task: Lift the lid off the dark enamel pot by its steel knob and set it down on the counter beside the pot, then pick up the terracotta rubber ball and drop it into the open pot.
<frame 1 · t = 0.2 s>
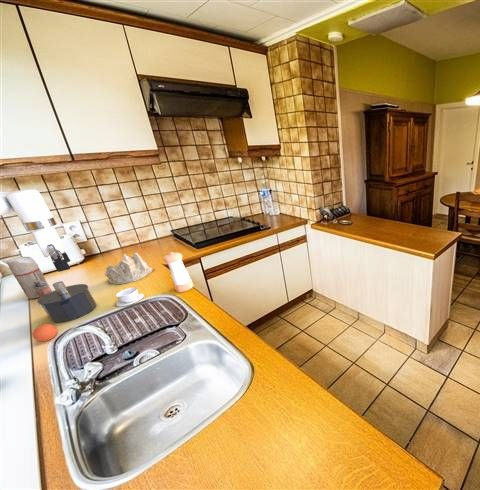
hand: (64, 266, 102), 24 cm above the worktop, tool pointing down, fingers open, 9 cm apart
pot: (75, 312, 115), on the worktop
lighter: (48, 299, 126), on the worktop
pot lid: (64, 294, 111), point 9 cm above the worktop, touching pot
salt shaker: (185, 288, 129), on the worktop
jagged rock: (132, 276, 143), on the worktop
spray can: (41, 295, 130), on the worktop
ball: (45, 332, 98), point 3 cm above the worktop
teacup: (130, 300, 121), on the worktop
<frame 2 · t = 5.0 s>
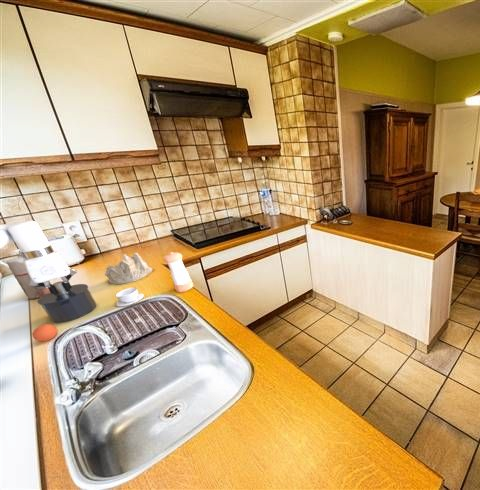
hand: (62, 291, 110), 11 cm above the worktop, tool pointing down, fingers closed on pot lid, 3 cm apart
pot lid: (64, 294, 111), point 10 cm above the worktop, touching gripper, pot
everything else where it was.
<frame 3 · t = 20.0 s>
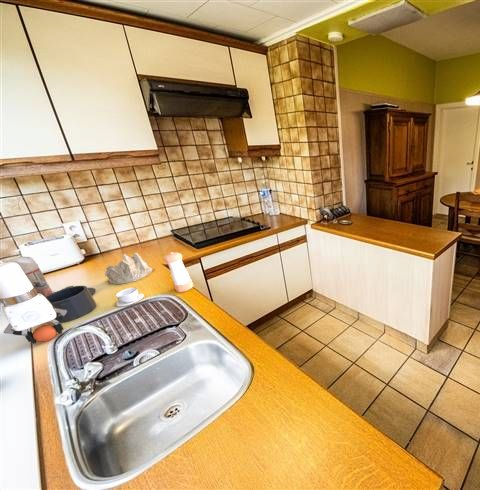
hand: (47, 336, 99), 1 cm above the worktop, tool pointing down, fingers closed on ball, 5 cm apart
pot lid: (74, 297, 125), point 1 cm above the worktop
ball: (45, 332, 98), point 3 cm above the worktop, touching gripper
everything else where it was.
when the fingers open (9 cm above the worktop, at t = 28.2 s): ball drops 7 cm, resting on pot.
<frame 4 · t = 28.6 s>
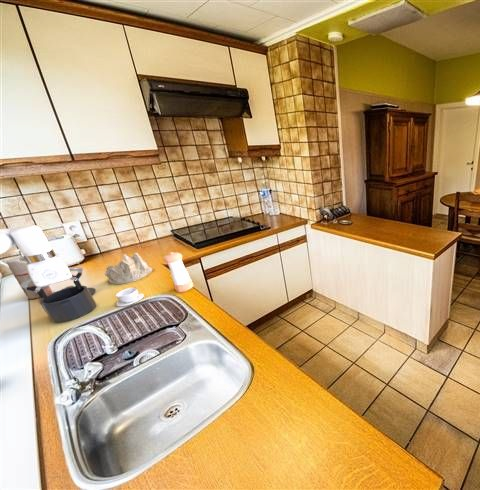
hand: (63, 293, 110), 10 cm above the worktop, tool pointing down, fingers open, 9 cm apart
ball: (71, 306, 113), point 3 cm above the worktop, touching pot
everything else where it was.
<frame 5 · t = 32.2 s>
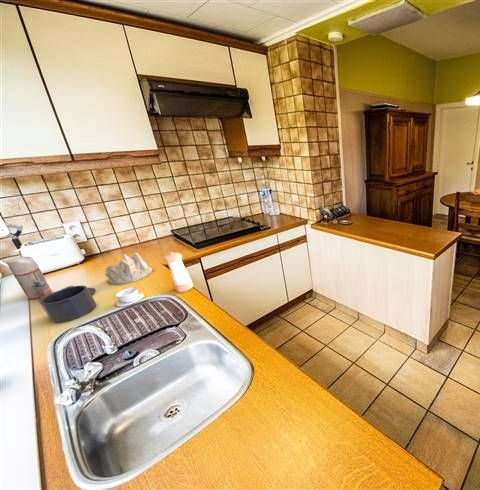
hand: (0, 252, 102), 30 cm above the worktop, tool pointing down, fingers open, 9 cm apart
nothing on the worktop moved.
at the end: pot lid inside the target area (0.1 cm from its centre), point 0.6 cm above the worktop; ball inside the target area in the pot (0.1 cm from its centre), point 3.5 cm above the pot's base; the gripper is holding nothing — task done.
